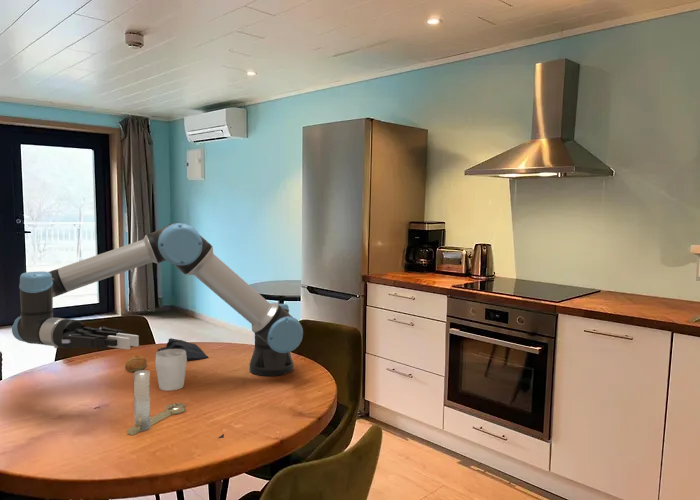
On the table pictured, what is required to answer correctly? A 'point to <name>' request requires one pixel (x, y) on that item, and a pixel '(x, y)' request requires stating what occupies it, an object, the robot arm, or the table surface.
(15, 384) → the table surface
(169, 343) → the dark grey crumpled cloth
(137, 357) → the pastry
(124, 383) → the table surface
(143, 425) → the tuning peg
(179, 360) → the cup
